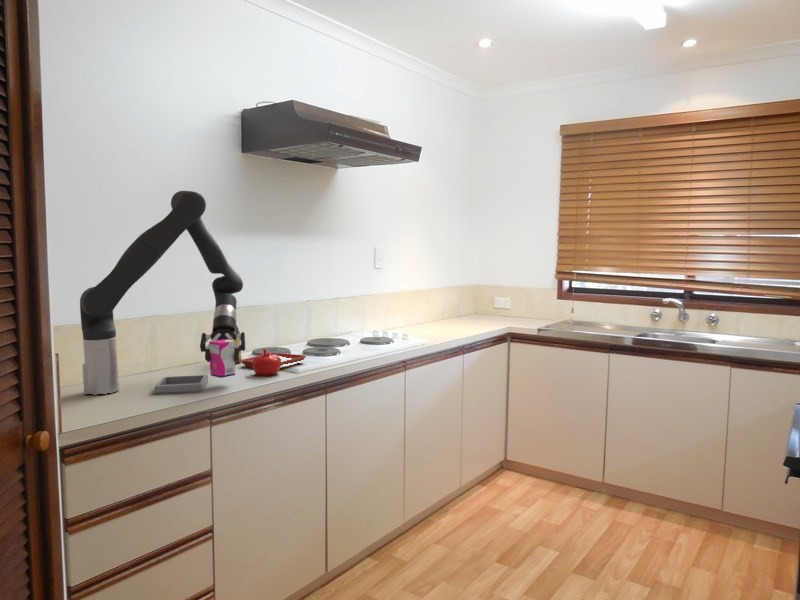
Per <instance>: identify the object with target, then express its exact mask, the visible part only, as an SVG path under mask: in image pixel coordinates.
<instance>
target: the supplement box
mask: <svg viewBox="0 0 800 600" xmlns="http://www.w3.org/2000/svg"><path fill="white" fill-rule="evenodd" d="M208 342H209V343H208V344H209V347H210V362H209V368H210V369H209V370H210V372H209V373H210V376H211V377H215V378H219V379H224V378H228V377H233V376H236V364H235V361H234V341H233V340H225V339H222V340H216V341H211V340H210V341H208Z"/></svg>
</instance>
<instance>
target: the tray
mask: <svg viewBox="0 0 800 600" xmlns="http://www.w3.org/2000/svg"><path fill="white" fill-rule="evenodd" d="M208 383H209V375H208V374H196V375H178V376H177V375H176V376H175V375H174V376H163V377H162V378H161V379H160V380H159V381H158V382H157V383H156V384H155V385H154V387H153V388H154V395H166V394H165V393H171V394H185V393H202V392H203V391H204V389H206V386H207V385H208Z"/></svg>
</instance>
